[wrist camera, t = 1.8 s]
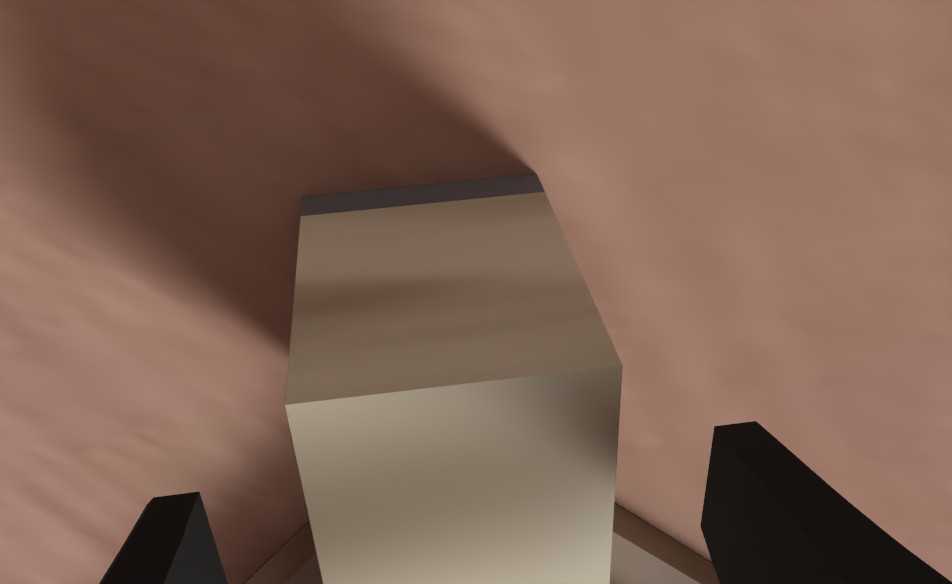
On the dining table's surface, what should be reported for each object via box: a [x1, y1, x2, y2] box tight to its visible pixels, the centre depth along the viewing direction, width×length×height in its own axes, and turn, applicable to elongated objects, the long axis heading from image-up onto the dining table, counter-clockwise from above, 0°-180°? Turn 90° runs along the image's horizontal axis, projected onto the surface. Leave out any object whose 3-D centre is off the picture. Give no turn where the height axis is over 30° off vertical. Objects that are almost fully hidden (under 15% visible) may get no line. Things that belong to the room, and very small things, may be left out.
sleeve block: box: [285, 174, 622, 584], centre depth 15 cm, size 4×4×6 cm
